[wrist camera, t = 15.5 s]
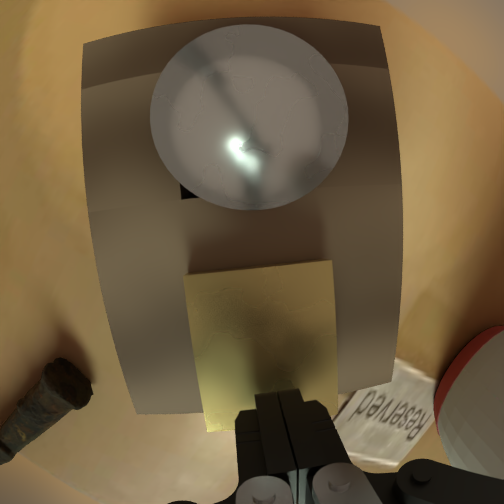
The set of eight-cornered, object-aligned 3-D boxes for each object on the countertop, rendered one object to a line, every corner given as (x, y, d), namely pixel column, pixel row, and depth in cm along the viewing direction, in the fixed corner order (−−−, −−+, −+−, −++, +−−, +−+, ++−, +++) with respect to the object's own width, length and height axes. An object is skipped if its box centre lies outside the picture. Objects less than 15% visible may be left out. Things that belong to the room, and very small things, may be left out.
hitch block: (133, 92, 17) (83, 43, 9) (324, 77, 18) (379, 26, 10) (162, 338, 20) (136, 414, 13) (339, 318, 21) (391, 381, 13)
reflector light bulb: (184, 105, 17) (148, 35, 7) (281, 98, 17) (334, 26, 8) (191, 201, 18) (158, 220, 9) (290, 192, 18) (355, 202, 9)
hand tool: (63, 346, 20) (36, 378, 16) (99, 384, 21) (79, 421, 17) (-14, 422, 22) (-33, 446, 17) (11, 447, 22) (-5, 473, 18)
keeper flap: (187, 273, 11) (183, 275, 10) (323, 258, 12) (331, 259, 11) (208, 419, 12) (207, 431, 11) (330, 402, 12) (337, 414, 11)
